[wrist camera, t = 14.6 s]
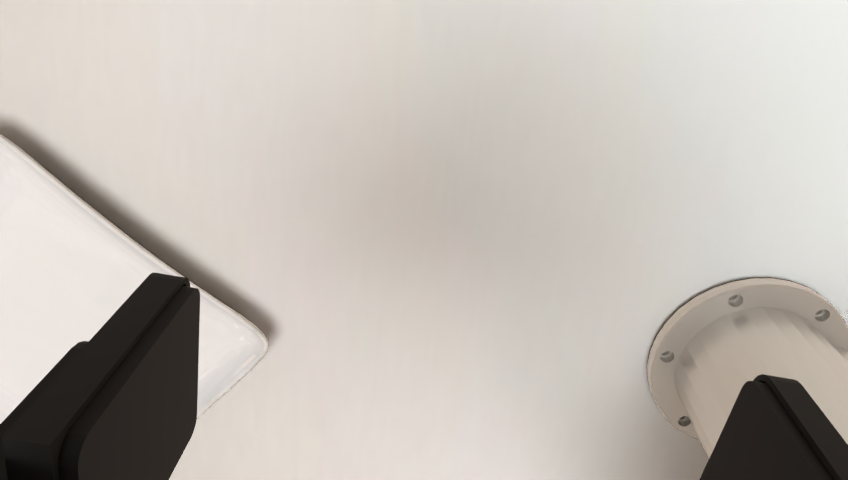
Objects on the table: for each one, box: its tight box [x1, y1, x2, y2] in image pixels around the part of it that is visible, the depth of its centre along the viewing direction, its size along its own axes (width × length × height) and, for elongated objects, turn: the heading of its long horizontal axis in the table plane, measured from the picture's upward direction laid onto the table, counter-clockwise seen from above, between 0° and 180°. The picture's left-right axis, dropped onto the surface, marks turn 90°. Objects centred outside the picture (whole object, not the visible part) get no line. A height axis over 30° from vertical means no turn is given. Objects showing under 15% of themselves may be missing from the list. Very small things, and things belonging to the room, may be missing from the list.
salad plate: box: [0, 134, 269, 424], centre depth 44 cm, size 21×21×3 cm
